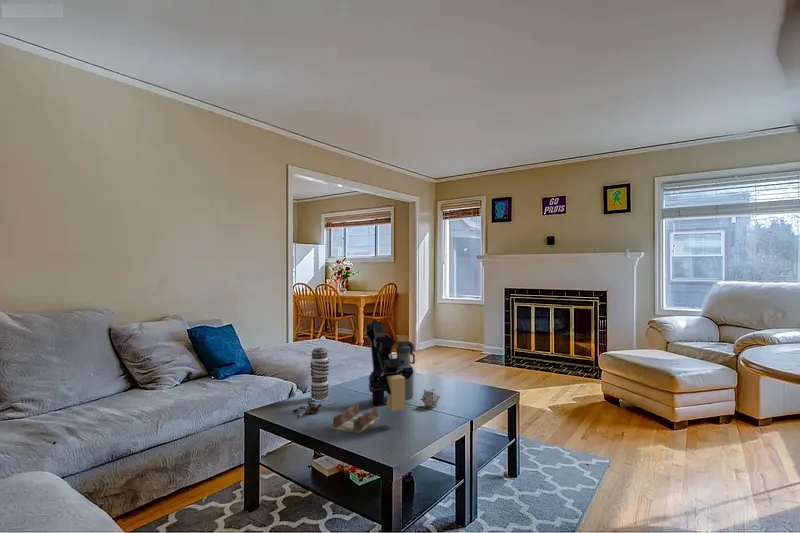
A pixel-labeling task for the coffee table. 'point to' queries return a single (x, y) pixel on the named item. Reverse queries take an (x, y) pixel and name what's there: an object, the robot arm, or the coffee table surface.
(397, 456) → the coffee table surface
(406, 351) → the water bottle
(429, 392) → the game die
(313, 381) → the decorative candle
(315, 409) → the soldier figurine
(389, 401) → the pillar
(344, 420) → the brown open-ended tray
